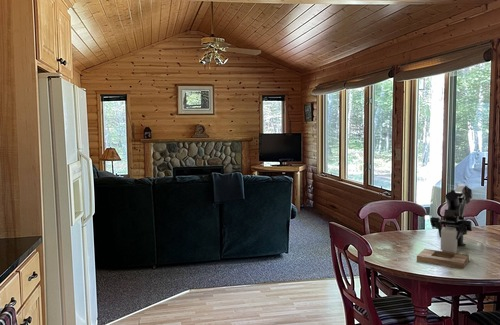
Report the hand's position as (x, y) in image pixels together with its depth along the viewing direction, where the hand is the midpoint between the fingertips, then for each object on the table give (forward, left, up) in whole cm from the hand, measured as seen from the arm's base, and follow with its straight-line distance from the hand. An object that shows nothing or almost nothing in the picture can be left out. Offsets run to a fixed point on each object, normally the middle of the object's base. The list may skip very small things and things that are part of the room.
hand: (448, 238), depth 208 cm
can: (-1, -1, -7) cm, 7 cm away
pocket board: (+10, +6, -8) cm, 14 cm away
